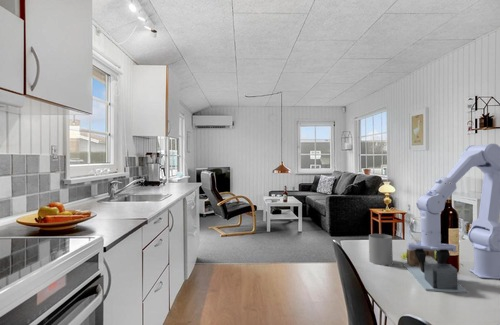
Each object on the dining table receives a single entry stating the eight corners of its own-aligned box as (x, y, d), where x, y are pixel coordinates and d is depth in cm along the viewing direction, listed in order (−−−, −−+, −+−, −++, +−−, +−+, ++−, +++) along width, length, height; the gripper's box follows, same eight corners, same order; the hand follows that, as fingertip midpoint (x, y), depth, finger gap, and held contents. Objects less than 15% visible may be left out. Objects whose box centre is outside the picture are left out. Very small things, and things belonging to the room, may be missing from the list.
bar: (430, 269, 111) (430, 255, 111) (450, 287, 95) (449, 271, 95) (419, 268, 112) (419, 255, 112) (436, 286, 96) (436, 270, 96)
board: (435, 266, 117) (435, 264, 117) (467, 293, 92) (467, 290, 92) (403, 264, 119) (403, 263, 119) (425, 290, 95) (425, 288, 95)
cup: (394, 265, 118) (394, 238, 118) (371, 264, 120) (371, 238, 120) (389, 259, 126) (389, 234, 126) (367, 258, 128) (367, 233, 128)
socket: (431, 264, 117) (430, 247, 117) (434, 267, 114) (434, 250, 114) (407, 263, 119) (406, 246, 119) (409, 266, 115) (409, 249, 115)
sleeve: (446, 280, 101) (446, 261, 101) (457, 289, 93) (457, 269, 93) (424, 278, 102) (424, 260, 103) (433, 288, 95) (433, 268, 95)
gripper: (410, 233, 103) (411, 275, 103) (460, 234, 100) (461, 277, 100) (404, 228, 110) (405, 268, 110) (450, 229, 107) (451, 270, 107)
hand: (431, 272), depth 105 cm, fingers open, 4 cm apart
